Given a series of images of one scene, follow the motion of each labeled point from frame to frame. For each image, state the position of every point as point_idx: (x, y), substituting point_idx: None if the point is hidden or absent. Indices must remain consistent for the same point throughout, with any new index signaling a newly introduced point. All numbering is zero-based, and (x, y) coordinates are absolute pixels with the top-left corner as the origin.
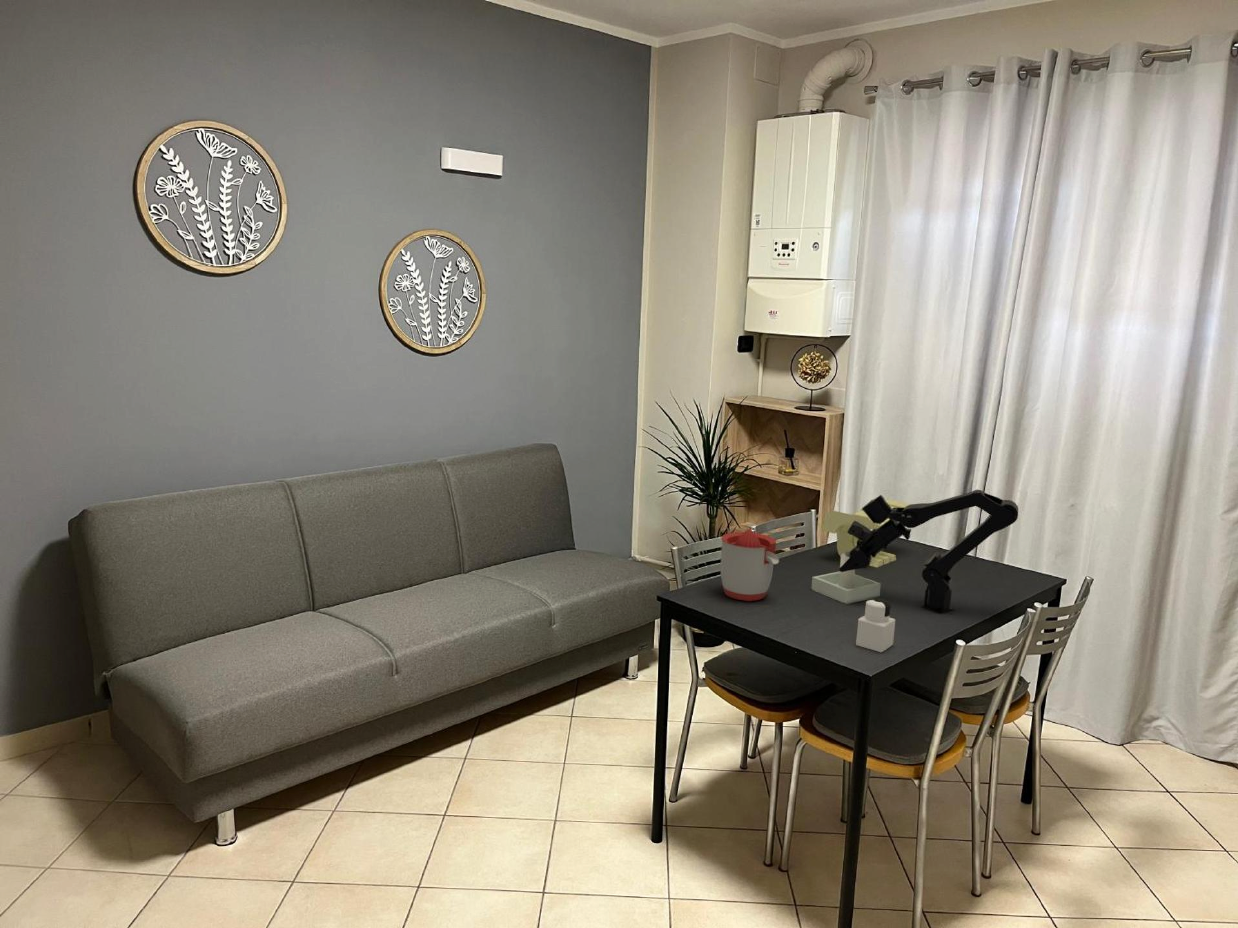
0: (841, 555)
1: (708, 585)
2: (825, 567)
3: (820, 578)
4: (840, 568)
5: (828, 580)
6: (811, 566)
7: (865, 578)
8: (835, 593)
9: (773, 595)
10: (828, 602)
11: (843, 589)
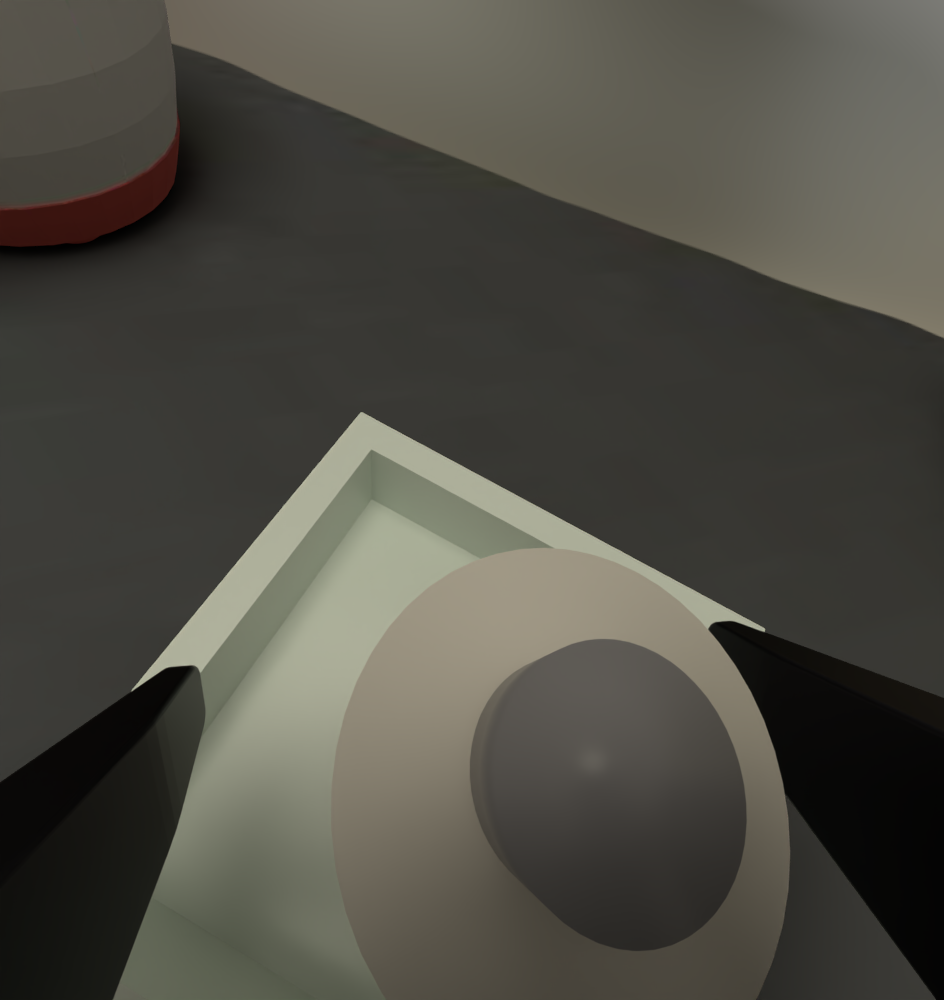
0: (466, 570)
1: None
2: (860, 463)
3: (411, 479)
4: (139, 695)
5: (502, 547)
6: (805, 395)
7: None
8: None
9: (100, 292)
10: (55, 680)
11: None
